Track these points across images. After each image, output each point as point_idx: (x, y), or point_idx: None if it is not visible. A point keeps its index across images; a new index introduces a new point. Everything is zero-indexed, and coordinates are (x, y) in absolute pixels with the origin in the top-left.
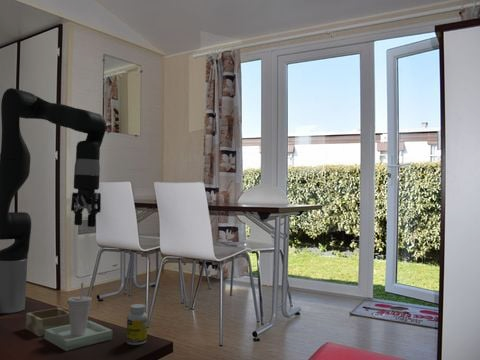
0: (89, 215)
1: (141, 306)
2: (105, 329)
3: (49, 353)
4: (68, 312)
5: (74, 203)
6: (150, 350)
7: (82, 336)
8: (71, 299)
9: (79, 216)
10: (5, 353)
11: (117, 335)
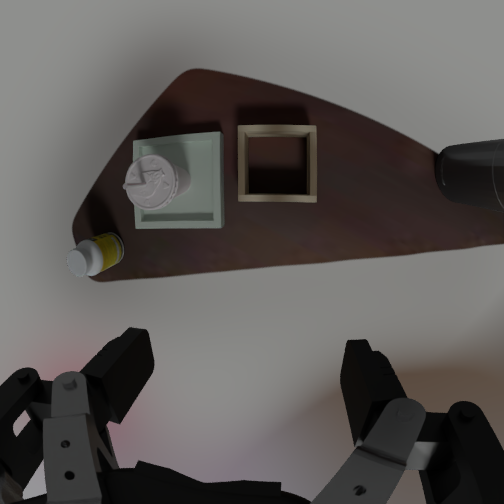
0: (88, 372)
1: (70, 265)
2: (147, 221)
3: (148, 119)
4: (256, 197)
5: (463, 478)
6: (78, 241)
7: None
8: (152, 162)
9: (355, 409)
10: (195, 68)
11: (154, 243)
